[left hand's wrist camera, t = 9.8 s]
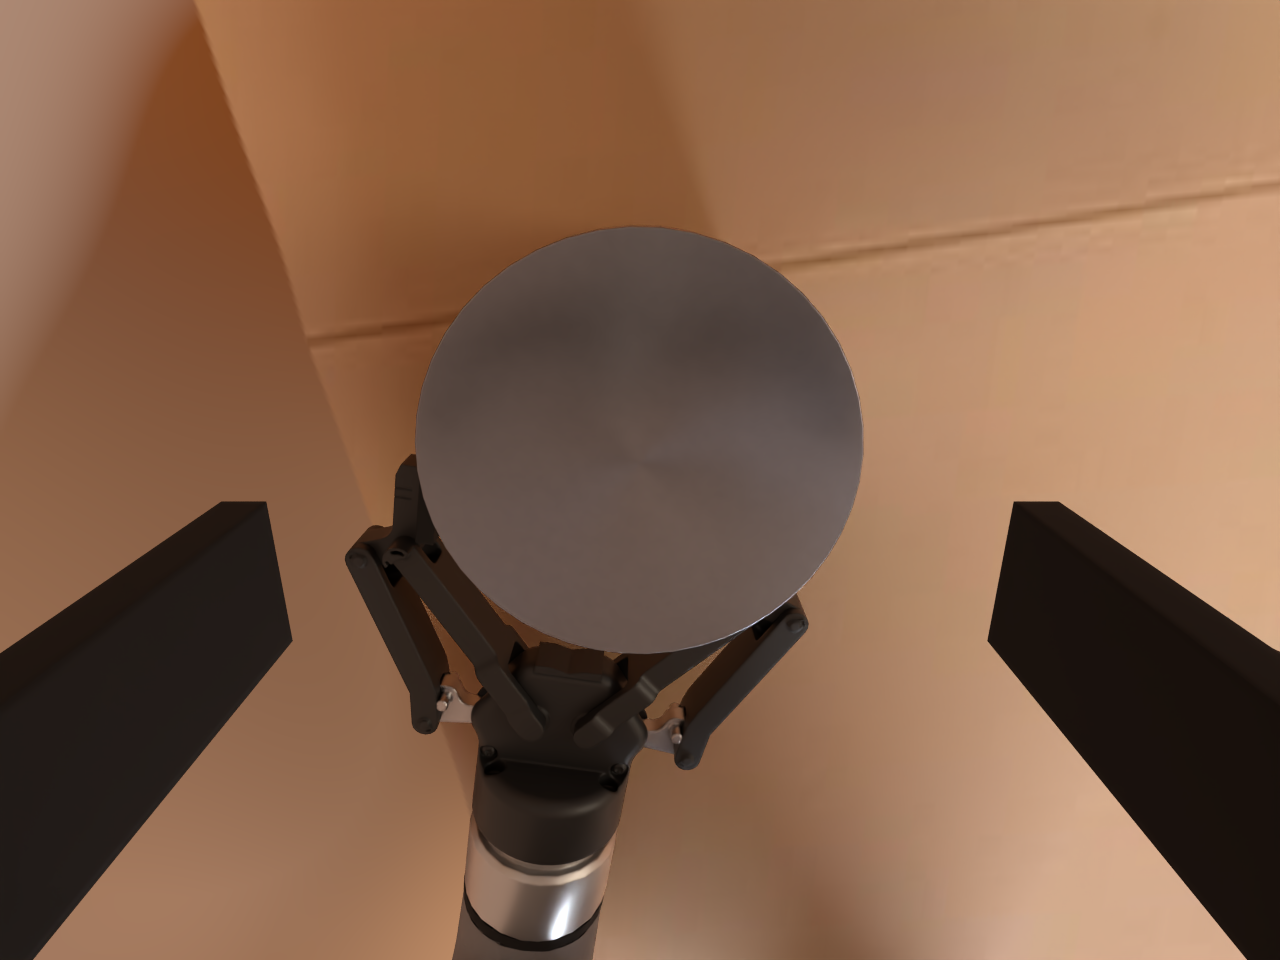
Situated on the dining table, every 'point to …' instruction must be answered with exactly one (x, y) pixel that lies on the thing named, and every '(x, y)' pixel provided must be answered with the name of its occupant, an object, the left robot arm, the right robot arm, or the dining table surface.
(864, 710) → the dining table surface
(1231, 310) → the dining table surface
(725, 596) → the lid
